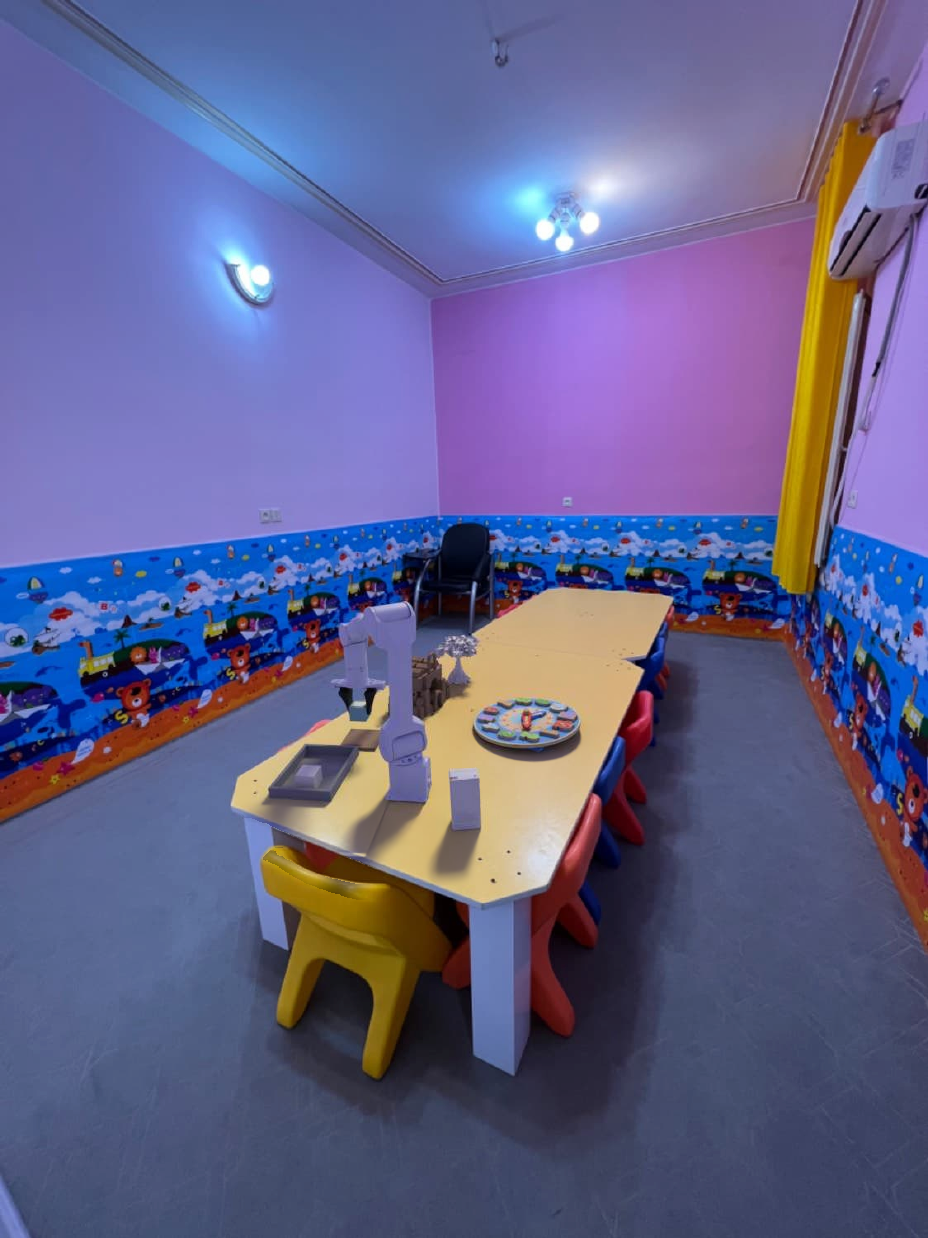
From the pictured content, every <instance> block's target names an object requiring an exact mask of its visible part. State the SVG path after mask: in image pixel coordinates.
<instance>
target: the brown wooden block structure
mask: <svg viewBox="0 0 928 1238" xmlns="http://www.w3.org/2000/svg"><path fill="white" fill-rule="evenodd" d="M450 685H451V684H450V683H449V682H448V681H447V680H446V677H444V676H443V665H442V663H440V662H439V659H438V658H437V657H436V653H435V651H434V652H433V651H431V652H430V653H428V655H427V657H426V658H425V657H421V656H420V657H419V656H412V701H413V716H416V717H417V718H419V719H420V720H422V719H424V717H428V716H430V715H431V714H432V713H433V712H438V707H440V708H442V707H444V704H445V702H447V700H448V699H450V698H451V687H450ZM387 709H388V711H387V712H388V717H390V701H389V700H388V703H387Z"/></svg>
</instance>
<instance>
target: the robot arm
mask: <svg viewBox="0 0 928 1238" xmlns="http://www.w3.org/2000/svg"><path fill="white" fill-rule="evenodd" d="M416 624H417V617H416V613H415V611H414V608H413V606H412V605H411V604H410V603H409V602H408V601H406V600H403V601H401V602H396V603H390V604H388V603H387V604H382V605H376V606H367V607H365V608H364V610H363V612H358V613H355V617H353V618H351V619H350V621H349V622H347V623H343V622H341V623H340V624H339V625H338V636H339V641H340V643H341V644H342V647H343V654H344V655H343V656H344V667H345V678H340V679H338V678H337V679H335V678H334V679H333V678H332V680H331V681H330V682H329V683H330V689H332V690H333V689H339V690H338V694H337V695H338V696H339V697H340V698H341V700H342V701H343V703H344V705H345V707H346V710H347V712H348V714H349V707H350V705H351V704H352V703H353V701H354V700H353V698H354V697H353V696H354V695H353V694H354V693H353V692H354V691H353V690H357V689H364V690H365V691H364V693H363V696H364V699H365V700H364V701H366V711H367V715H370V714H371V715H372V711H373V704H374V699H375V697H376V694H377V692H378V690H380V691H384V690H385V689H386V680H379V679H375V678H374V679H373V678H369V669H368V656H367V654H368V653H367V649H368V647H369V638H370V639H371V640H372V642H373V643H374V644H375V647H376V648H377V649H379V650H384V651H386V652H387V669H388V671H387V672H388V694H389V695H388V702H389V701H390V716H389V718H388V719H387V720H386V721H385V722H384V723H383V724H382V725H381V727H379V728H380V729H379V730H381V731H380V738H379V745H378V750H379V754H380V755H381V756H380V757H381V758H382V759H383V760H384V761H385V762H386V763H388V765H387V766H388V778H389V787H388V789H387V791H386V794H385V797H384V799H385V800H388V801H393V802H395V801H396V802H409V803H410V802H411V803H413V802H414V803H426V802H427V800H428V797H429V794H430V790H431V787H432V783H433V781H432V766H431V763H432V761H431V758H430V756H427V755H423V752H424V751H426V750H427V747H428V736H427V733H426V726H425V724H424V723H423V720H422V719H419V718H417V717H416V716H413V701H412V657H413V656H412V645H413V644H414V642H415V641H416V639H417V625H416ZM371 715H370V716H371Z"/></svg>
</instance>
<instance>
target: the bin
mask: <svg viewBox="0 0 928 1238" xmlns="http://www.w3.org/2000/svg"><path fill="white" fill-rule="evenodd" d="M359 756H360V750H359V747H358V746H347V745H340V744H323V743H322V744H320V743H317V744H316V743H304V744H303V745H302V746H301V748H300V749H298V752H297V753H296V754H295V755H294V756H293V758H292V759H290V761H289V762H288V764H287V765H286V766H285V767H284V768H283V770H282V771H281V772H280V773H279V774H278V776H277V777H276V778H275V779H274V780H273V781H272V783H270V786H268V788H267V791H268V797H269V798H270V799H280V800H281V799H283V800H299V801H301V800H302V801H313V802H314V801H317V802H318V801H319V802H333V800H334V798H335V796H336V794H337V793H338V791H339V789H340V788H341V786H342V784H343V782H344V781H345V779H346V778H347V776H348V774H349V773H350V770H351V769H352V767H354V764H355V762H356V761H357V759H358V757H359ZM303 765H317V766H321V769H322V778H323V781H322V782H321V784H320V785H319V787H318V788H317V789H315V788H296V782H295V775H296V773H297V772H298V771H299V769H300V768H301V767H302V766H303Z"/></svg>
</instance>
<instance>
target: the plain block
mask: <svg viewBox="0 0 928 1238" xmlns="http://www.w3.org/2000/svg"><path fill="white" fill-rule="evenodd" d="M322 781H323V778H322V769H321V766H317V765H303V766H302V767H301V768H300V769H299V771H298V772H297V773H296V775H295V782H296V788H315V789H317V788H318V787H319V785H320V784H321V782H322Z"/></svg>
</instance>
